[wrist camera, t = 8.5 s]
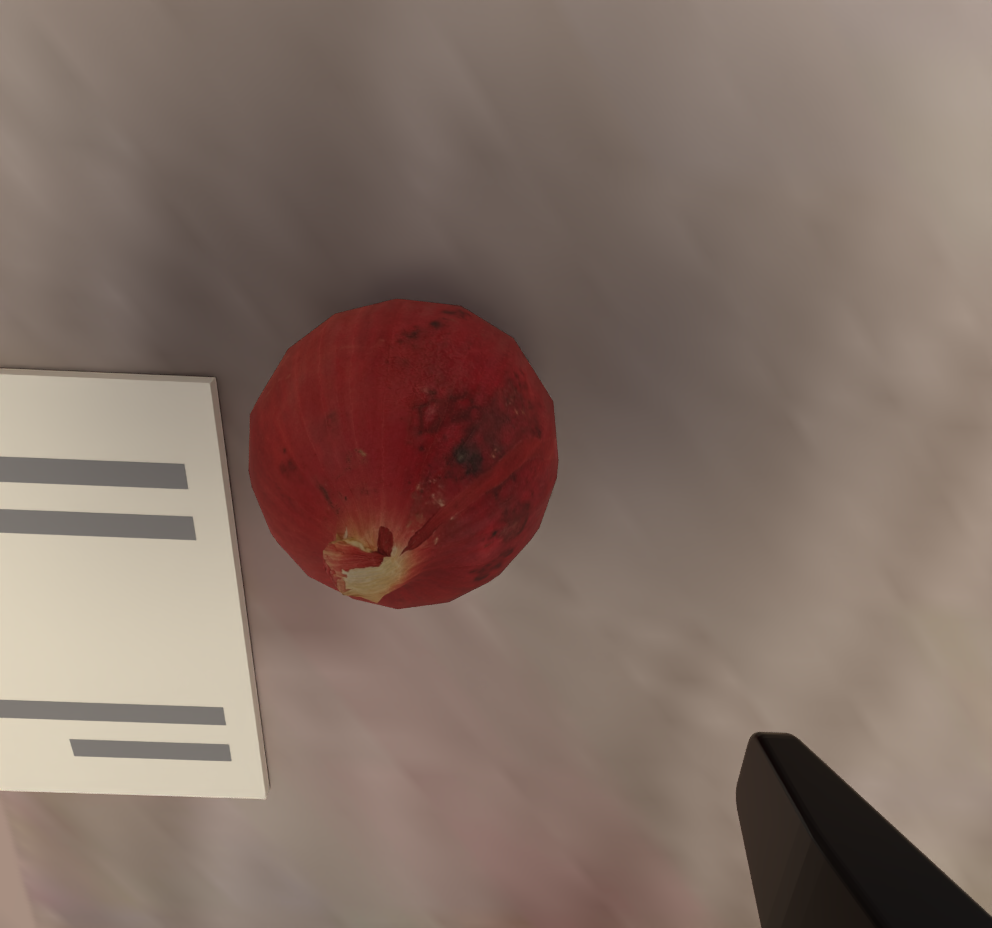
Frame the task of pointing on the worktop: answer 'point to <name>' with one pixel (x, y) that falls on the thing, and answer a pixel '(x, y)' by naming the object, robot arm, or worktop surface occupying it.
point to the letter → (122, 591)
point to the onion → (403, 452)
